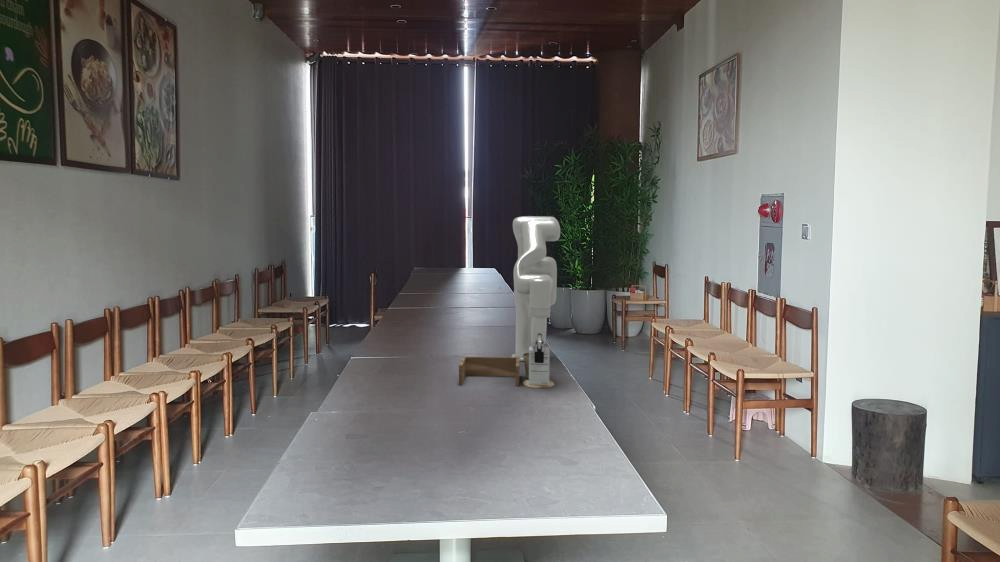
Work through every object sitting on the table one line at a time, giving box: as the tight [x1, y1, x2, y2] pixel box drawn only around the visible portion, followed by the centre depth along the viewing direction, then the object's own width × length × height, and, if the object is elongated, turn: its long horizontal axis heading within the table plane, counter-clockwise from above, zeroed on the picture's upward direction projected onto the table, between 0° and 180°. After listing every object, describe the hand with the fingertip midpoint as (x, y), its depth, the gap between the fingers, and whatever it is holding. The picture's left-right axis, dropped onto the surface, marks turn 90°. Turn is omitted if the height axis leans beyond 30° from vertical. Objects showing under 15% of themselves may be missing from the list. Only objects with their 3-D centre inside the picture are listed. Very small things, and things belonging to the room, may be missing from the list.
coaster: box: [523, 379, 555, 389], centre depth 269 cm, size 11×11×1 cm
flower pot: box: [522, 352, 529, 379], centre depth 279 cm, size 9×9×9 cm
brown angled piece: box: [458, 356, 521, 387], centre depth 274 cm, size 15×21×7 cm
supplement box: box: [528, 345, 551, 385], centre depth 268 cm, size 7×7×13 cm
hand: (538, 359), depth 269 cm, fingers open, 9 cm apart
